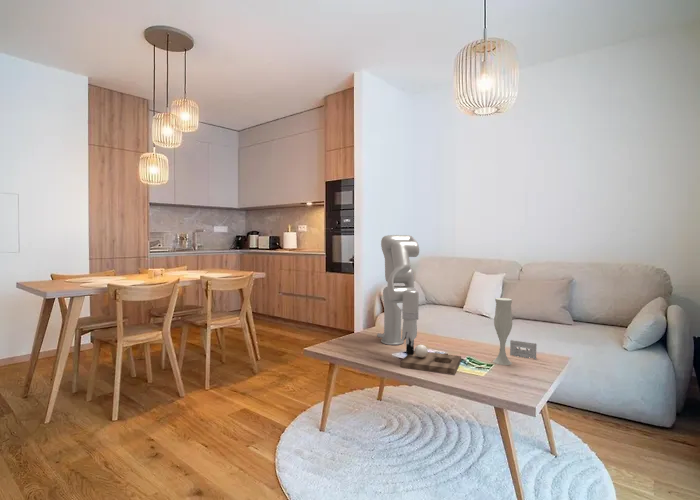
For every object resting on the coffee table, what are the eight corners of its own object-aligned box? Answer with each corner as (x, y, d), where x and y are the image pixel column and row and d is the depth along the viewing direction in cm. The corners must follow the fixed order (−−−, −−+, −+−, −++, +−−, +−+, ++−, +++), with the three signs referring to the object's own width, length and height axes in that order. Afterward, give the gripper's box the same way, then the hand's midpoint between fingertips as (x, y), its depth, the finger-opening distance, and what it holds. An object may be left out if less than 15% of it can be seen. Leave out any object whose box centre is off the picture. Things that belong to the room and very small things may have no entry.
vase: (488, 360, 189) (489, 298, 188) (502, 358, 193) (503, 297, 192) (502, 366, 181) (503, 301, 180) (516, 363, 185) (517, 300, 184)
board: (400, 367, 179) (400, 361, 179) (411, 355, 197) (411, 350, 197) (454, 374, 169) (454, 368, 169) (461, 361, 188) (461, 356, 188)
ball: (413, 358, 184) (413, 345, 183) (416, 354, 189) (416, 342, 189) (425, 360, 181) (426, 347, 181) (428, 356, 187) (428, 343, 187)
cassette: (509, 355, 198) (510, 340, 198) (510, 354, 199) (510, 339, 199) (535, 359, 191) (536, 344, 191) (536, 358, 193) (536, 343, 192)
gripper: (407, 312, 195) (406, 349, 196) (398, 318, 181) (397, 357, 182) (422, 313, 192) (421, 351, 193) (414, 319, 178) (413, 359, 179)
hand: (409, 354), depth 187 cm, fingers closed
